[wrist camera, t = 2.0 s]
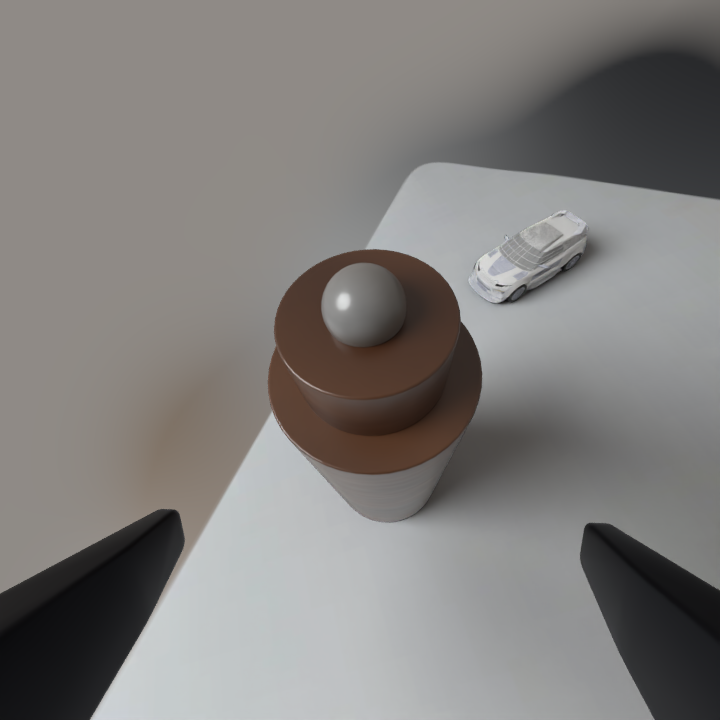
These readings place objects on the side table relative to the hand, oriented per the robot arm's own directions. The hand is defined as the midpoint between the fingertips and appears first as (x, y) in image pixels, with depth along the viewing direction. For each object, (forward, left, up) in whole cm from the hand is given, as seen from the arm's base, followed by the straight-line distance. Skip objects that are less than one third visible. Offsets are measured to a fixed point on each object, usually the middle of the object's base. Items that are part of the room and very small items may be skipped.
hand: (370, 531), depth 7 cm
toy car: (+19, -3, -10) cm, 22 cm away
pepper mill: (+3, +1, -10) cm, 10 cm away
